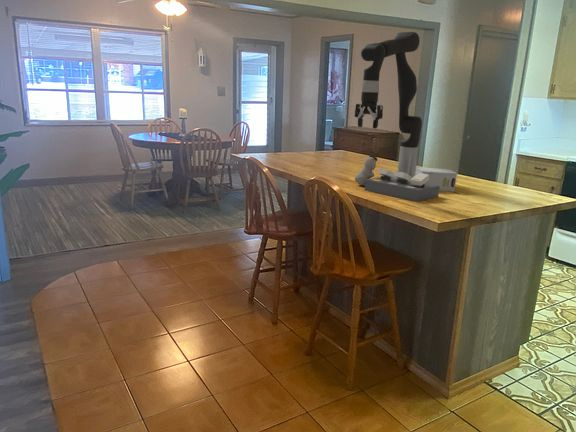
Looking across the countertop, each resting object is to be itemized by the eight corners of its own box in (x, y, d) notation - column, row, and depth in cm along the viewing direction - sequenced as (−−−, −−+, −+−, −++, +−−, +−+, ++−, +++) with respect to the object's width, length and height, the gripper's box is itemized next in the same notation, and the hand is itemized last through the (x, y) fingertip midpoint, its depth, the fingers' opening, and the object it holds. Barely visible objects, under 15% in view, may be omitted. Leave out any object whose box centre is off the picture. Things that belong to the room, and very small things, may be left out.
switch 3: (419, 177, 207) (419, 172, 206) (429, 179, 204) (429, 174, 203) (410, 184, 204) (410, 179, 202) (420, 186, 200) (420, 181, 199)
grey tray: (387, 185, 227) (388, 173, 226) (438, 196, 208) (440, 182, 206) (364, 190, 215) (365, 176, 214) (416, 201, 196) (418, 187, 194)
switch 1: (385, 176, 220) (386, 171, 220) (393, 178, 216) (395, 173, 216) (377, 172, 215) (378, 167, 215) (386, 174, 212) (387, 169, 211)
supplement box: (419, 190, 221) (422, 171, 219) (413, 184, 234) (415, 166, 232) (455, 191, 221) (457, 172, 218) (447, 186, 234) (449, 168, 231)
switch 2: (401, 179, 214) (402, 174, 214) (410, 181, 210) (411, 176, 210) (393, 175, 209) (394, 170, 209) (402, 177, 205) (404, 172, 205)
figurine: (374, 187, 221) (377, 157, 217) (353, 186, 223) (356, 155, 219) (375, 184, 229) (377, 154, 225) (354, 183, 231) (357, 153, 227)
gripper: (388, 91, 204) (384, 128, 209) (363, 91, 214) (360, 126, 219) (377, 91, 199) (374, 129, 204) (352, 90, 209) (350, 126, 214)
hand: (367, 127), depth 211 cm, fingers open, 8 cm apart
